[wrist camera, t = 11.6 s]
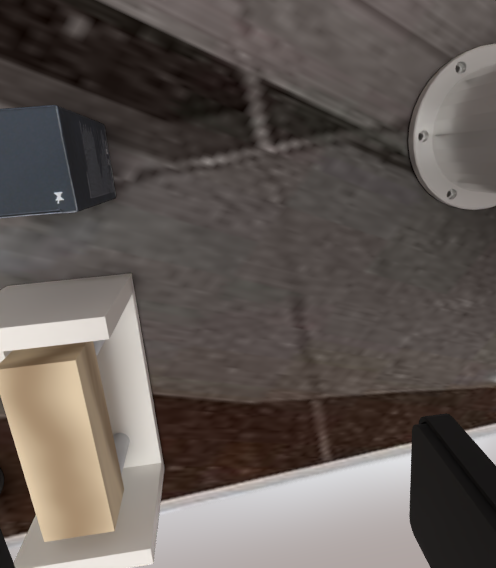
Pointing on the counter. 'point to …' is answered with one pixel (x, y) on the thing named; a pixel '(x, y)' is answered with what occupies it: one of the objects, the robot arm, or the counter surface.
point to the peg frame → (119, 399)
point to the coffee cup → (1, 480)
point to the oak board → (63, 438)
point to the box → (52, 162)
